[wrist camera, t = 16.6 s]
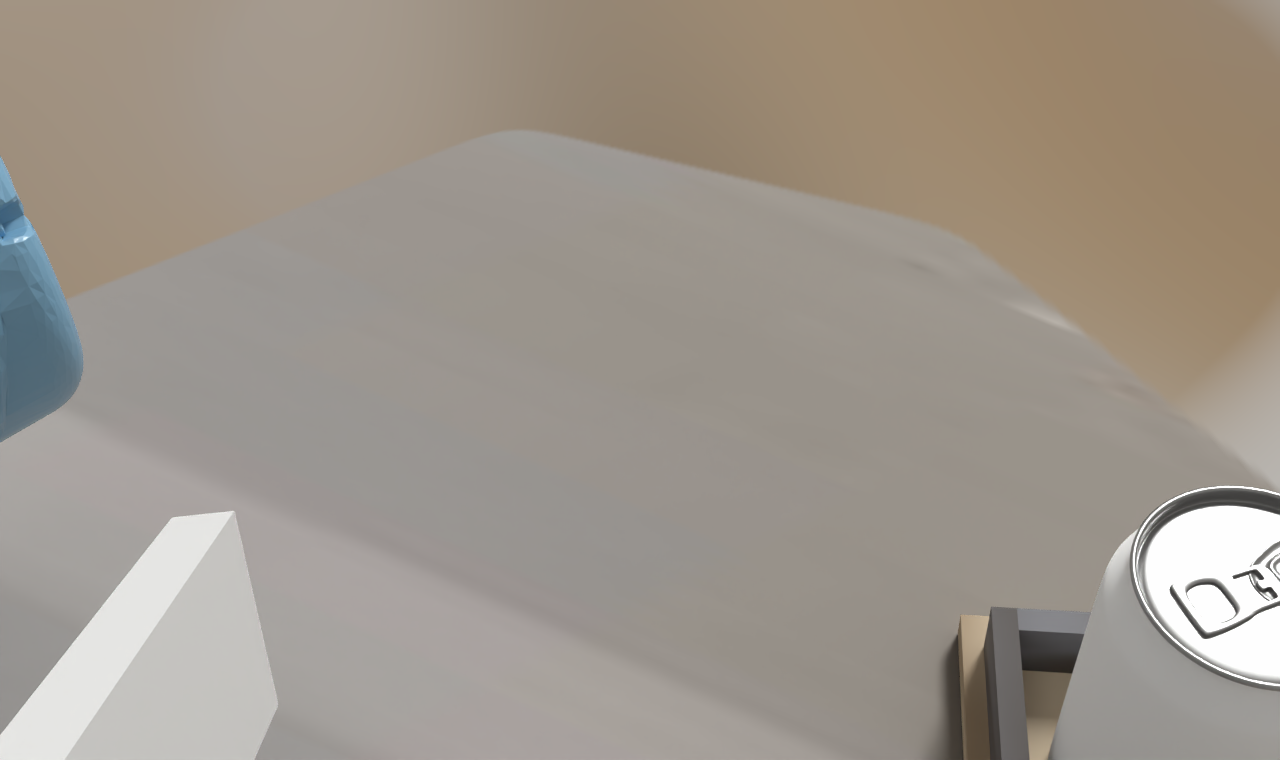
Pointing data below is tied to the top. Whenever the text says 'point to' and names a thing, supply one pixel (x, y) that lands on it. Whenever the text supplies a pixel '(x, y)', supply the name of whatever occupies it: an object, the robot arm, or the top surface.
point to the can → (1183, 638)
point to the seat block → (1015, 679)
